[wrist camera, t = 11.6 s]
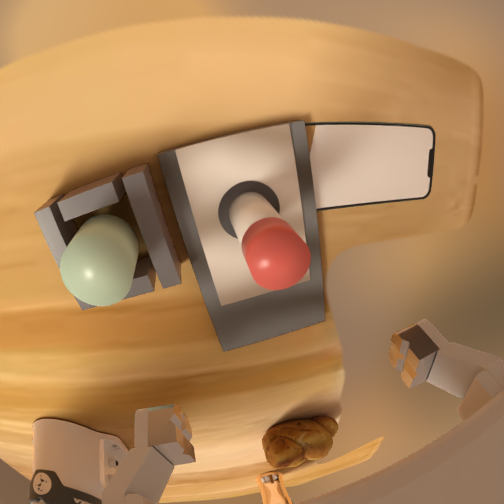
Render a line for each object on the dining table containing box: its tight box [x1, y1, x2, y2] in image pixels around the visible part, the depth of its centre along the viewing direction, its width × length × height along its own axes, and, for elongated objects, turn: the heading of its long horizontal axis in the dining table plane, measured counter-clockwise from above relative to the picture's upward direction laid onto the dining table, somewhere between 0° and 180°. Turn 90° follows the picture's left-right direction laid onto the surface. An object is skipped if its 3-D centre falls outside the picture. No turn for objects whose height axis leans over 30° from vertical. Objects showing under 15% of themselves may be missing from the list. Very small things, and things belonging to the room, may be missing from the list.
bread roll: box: [262, 416, 338, 469], centre depth 40 cm, size 13×10×8 cm
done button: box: [60, 214, 139, 306], centre depth 19 cm, size 5×5×4 cm
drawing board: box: [158, 120, 325, 352], centre depth 26 cm, size 20×11×1 cm, turn 11°
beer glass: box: [255, 471, 294, 504], centre depth 47 cm, size 7×7×15 cm
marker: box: [229, 192, 311, 290], centre depth 20 cm, size 3×3×8 cm
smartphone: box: [305, 122, 435, 211], centre depth 25 cm, size 8×1×16 cm
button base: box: [34, 163, 181, 310], centre depth 22 cm, size 9×9×3 cm
